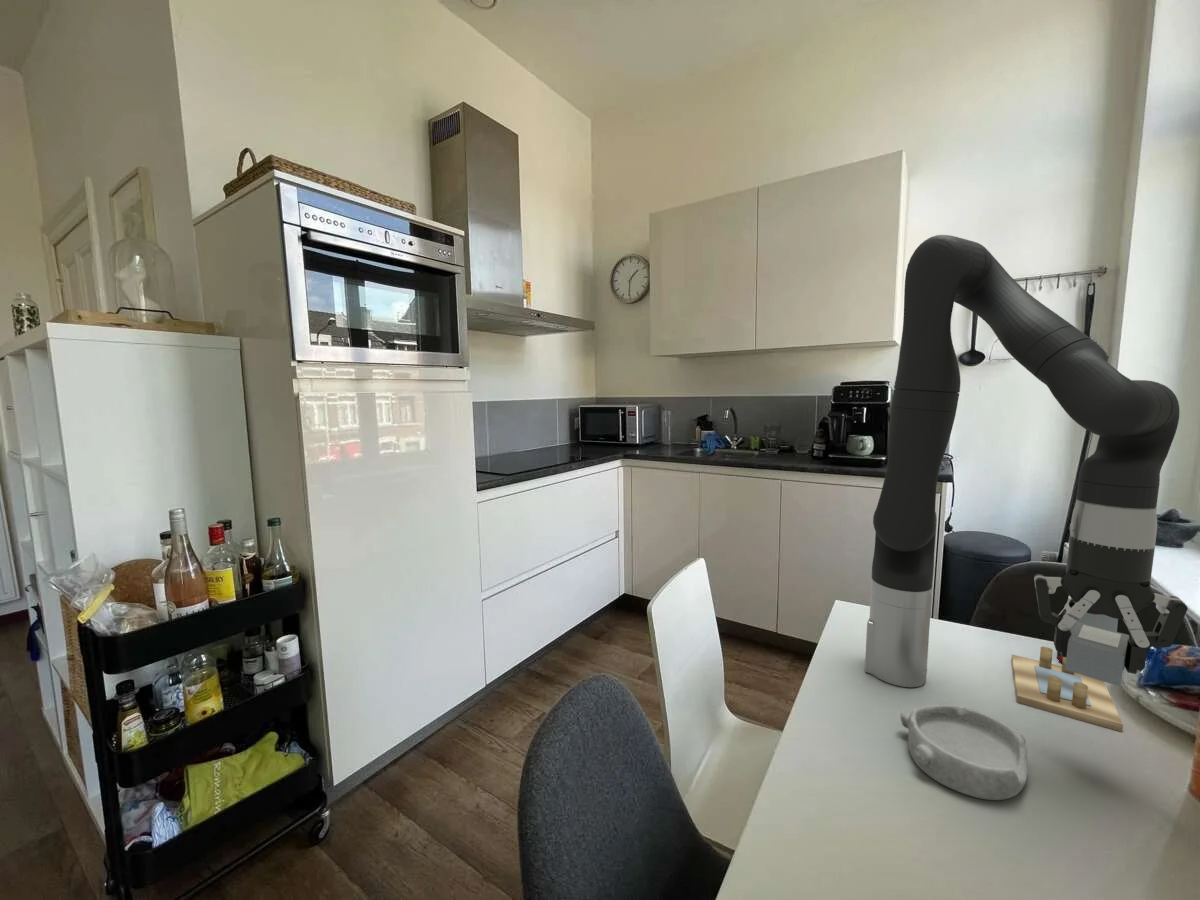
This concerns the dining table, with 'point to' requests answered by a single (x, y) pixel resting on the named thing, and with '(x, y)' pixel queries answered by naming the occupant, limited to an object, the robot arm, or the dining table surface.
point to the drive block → (1097, 653)
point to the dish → (967, 750)
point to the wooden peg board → (1063, 691)
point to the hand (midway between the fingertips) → (1096, 662)
